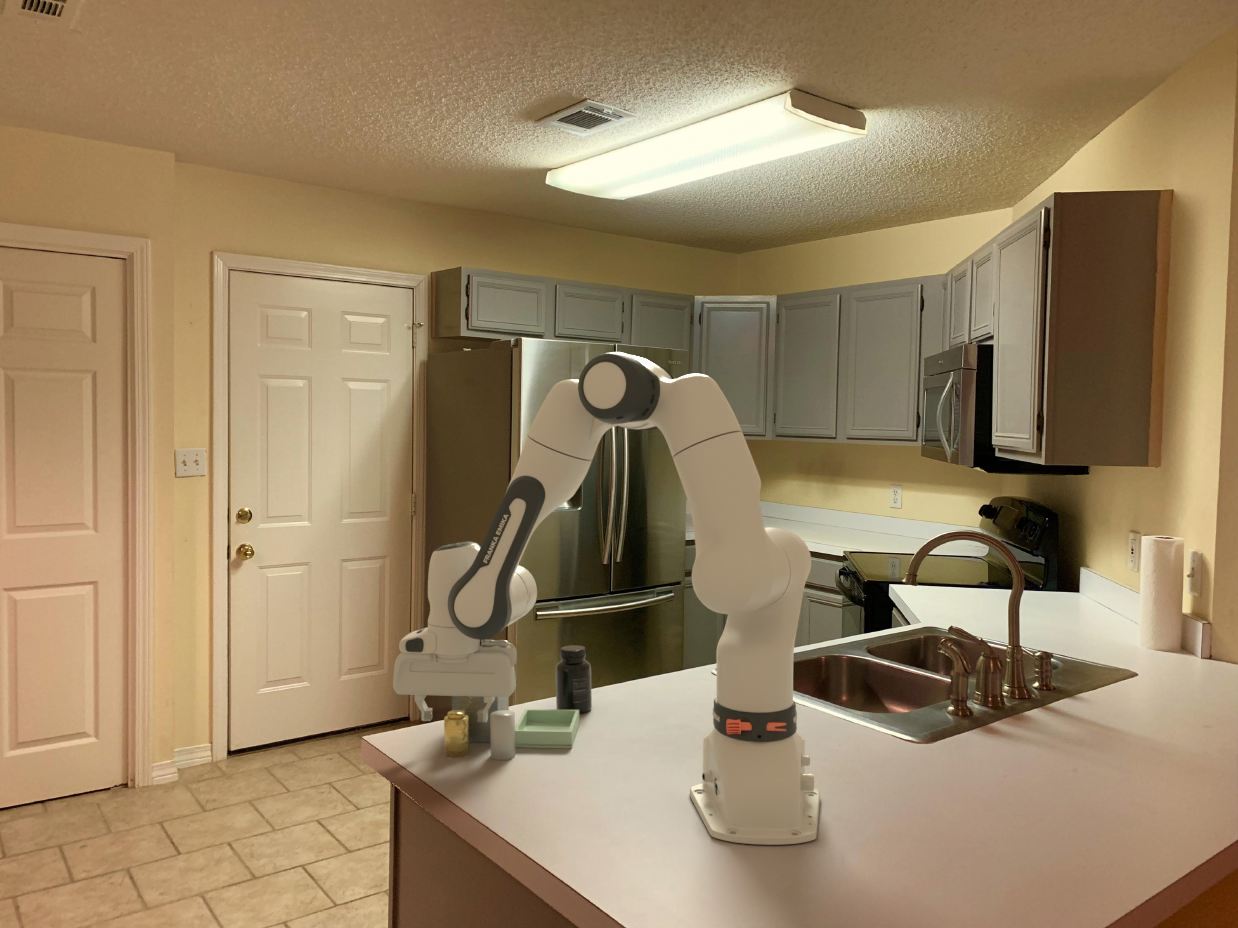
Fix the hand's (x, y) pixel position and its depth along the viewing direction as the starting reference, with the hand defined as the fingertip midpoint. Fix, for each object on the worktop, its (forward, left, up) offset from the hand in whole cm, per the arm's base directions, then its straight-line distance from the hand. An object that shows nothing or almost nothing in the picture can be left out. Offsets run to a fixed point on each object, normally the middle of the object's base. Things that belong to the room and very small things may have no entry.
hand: (454, 720), depth 151 cm
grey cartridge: (-1, -8, -5) cm, 10 cm away
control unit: (+10, -2, -5) cm, 11 cm away
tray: (+9, -14, -5) cm, 18 cm away
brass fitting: (0, 0, -5) cm, 5 cm away
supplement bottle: (+24, -17, -6) cm, 30 cm away
